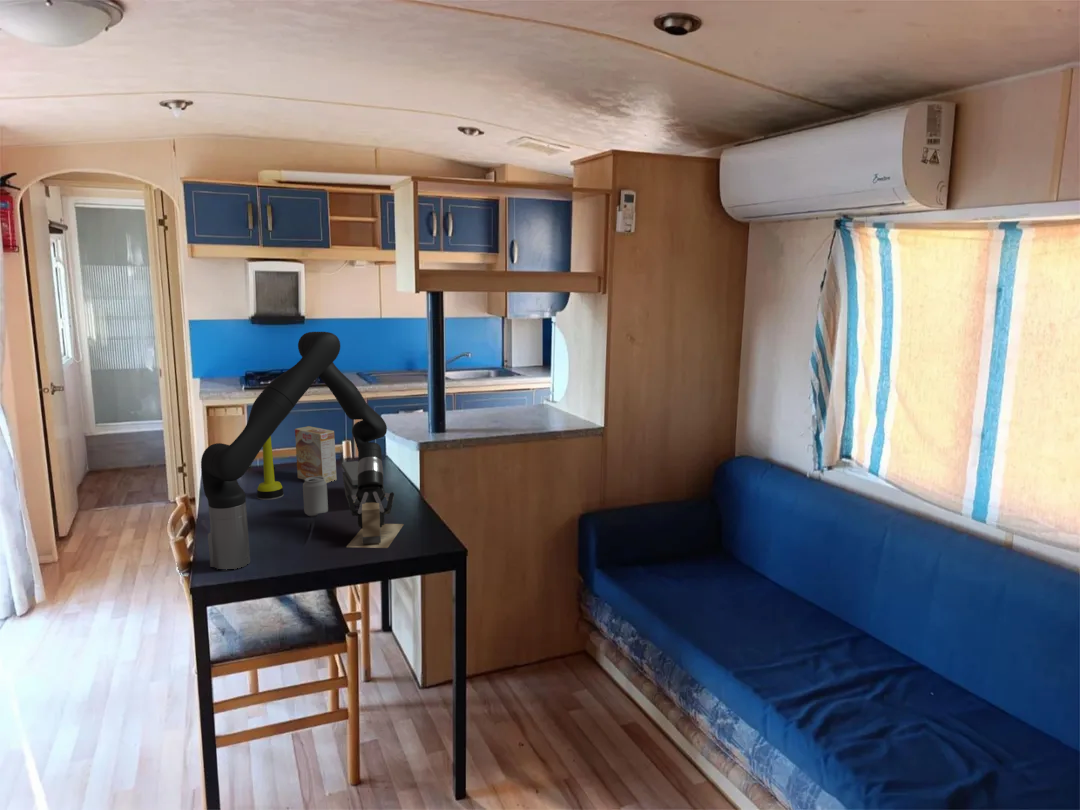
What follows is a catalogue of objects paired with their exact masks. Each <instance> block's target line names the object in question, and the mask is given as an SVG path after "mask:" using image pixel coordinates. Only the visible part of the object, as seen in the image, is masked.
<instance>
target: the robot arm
mask: <svg viewBox="0 0 1080 810" xmlns="http://www.w3.org/2000/svg"><path fill="white" fill-rule="evenodd" d="M340 341H341V340H340V338H339V337H338V335H336V334H335V333H332V332H329V331H309V332H306V333H304V334H302V335H301V336H300V337H299V340H298V343H297V349H298V353H299V355H300V356H301V358H300V360H299V361H297V362H296V364H294V365H293V366H292V367H290V368H289V369H288V370H286V371H284V372H283V373H281V374H279V375H278V376H277V377H276V378H274V379H273V380H272V381H271V382H269V383H268V385H266V387H265V388H264V389H263V390H262V391H261V393H259V394H258V396H257V397H256V399H255V400H254V401H253V404H252V405H251V406H252V407H251V410H250V412H249V416H248V420H247V422H246V425H245V426H244V428H243V430H242V431H241V433H240V434H239V435H238V436H237V437H236V438H235V439H234V440H233V442H232V443H230V444H225V443H222V442H217V443H213V444H211V445H209V446H207V447H206V448H205V450H204V451H203V453H202V455H201V460H200V468H201V469H200V471H201V477H202V478H201V479H202V487H203V491H204V492H203V493H204V496H205V497H206V499H207V503H208V513H209V514H208V516H209V526H210V531H209V533H207V543H208V555H209V556H208V557H209V568H210V567H215V568H217V569H216V570H218V569H226V570H225V571H228V570H227V569H234V570H238V569H241V567H242V568H243V567H246V566H248V565H249V564H250V563H251V553H250V552H251V551H250V542H249V540H250V539H249V529H248V528H249V527H248V525H249V524H248V513H247V512H248V511H247V501H246V498H247V497H246V493H245V491H244V489H243V488H242V487H241V486H240V484H239V483H238V480H239V479H241V478H242V477H243V476H244V475H245V474H246V472H247V471H248V470H249V468H250V467H251V466H252V464H253V462H254V460H255V459H256V458H257V456H258V454H259V453H260V451H261V450H262V449H263V445H264V444H265V442H266V441H267V440H268V439H269V437H270V436H271V437H272V435H273V434H274V432H275V431H276V430H277V428H278V427H279V426H280V425H281V423H283V422H284V420H285V419H286V418H287V416H288V415H289V414H290V413H291V412H292V410H293V409H294V408H295V406H296V405H297V403H298V402H299V401H300V400H301V398H302V397H303V396H304V395H305V394H306V392H307V391H308V390H309V389H310V387H311V386H312V385H313V384H314V382H315V381H316V380H317V379H318V378H320V379H321V381H322V382H323V383H324V384H325V385H326V387H327V388H328V389H329V391H330V392H331V394H332V395H333V396H334V398H335V399H336V400H337V402H338V404H339V405H340V407H341V409H342V410H343V412H344V413H345V416H346V417H348V419H350V420H353V421H355V420H360V421H357V422H355V423H354V424H353V426H352V429H351V434H352V436H353V439H354V441H355V445H356V448H357V454H358V455H357V461H358V474H357V476H358V491H357V493H356V495H352V496H351V495H348V496H347V498H346V501H347V504H348V507H349V510H350V513H351V515H352V517H357V526H358V528H360V530H361V529H363V527H362V504H365V503H371V502H376V503H379V512H380V513H379V515H380V527H382V525H384V524H385V515H389V514H391V511H392V507H393V504H394V499H395V493H394V492H386V491H385V489H384V468H383V459H382V458H383V457H382V448H381V445H380V444H379V443H377V442H374V441H375V440H378V439H381V438H383V437H385V436H386V434H387V431H388V427H387V424H386V423H387V422H386V421H385V420H384V418H383V417H382V416H381V415H380V414H379V413H377V412H376V411H375V410H374V409H373V408H372V407H371V406H370V405H369V404H368V403H367V401H366V400H365V398H364V397H363V395H362V393H361V391H360V390H359V389H358V388H357V386H356V385H355V384H354V383H353V382H352V381H351V380H350V379H349V378H348V377H347V376H346V375H345V374H343V373H342V371H341V370H340V369H339V368H338V367H337V366H336V364H335V363H334V361H335V360H336V359H338V357H339V354H340V353H341V351H340V350H341V342H340ZM372 441H373V442H372ZM384 498H386V501H387V503H386V504H387V505H386V507H385V508H384V507H383V503H382V501H383V500H384ZM355 499H358V500H359V501H360V503H361V504H360V505H359V508H358V509H356V506H354V503H355ZM247 564H248V565H247ZM215 568H214V569H215ZM237 568H238V569H237Z"/></svg>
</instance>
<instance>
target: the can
mask: <svg viewBox="0 0 1080 810" xmlns="http://www.w3.org/2000/svg"><path fill="white" fill-rule="evenodd" d="M327 484H328V483H327V482H326V481H325V480H324V477H319V476H315V477H309V478H306V479H305V480H304V482H303V483H302V493H303V495H302V496H303V509H304V510H303V511H304V514H305V515H307V516H309V517H318V514H322V513H328V512H329V504H328V503H329V501H328V499H329V498H328V485H327Z"/></svg>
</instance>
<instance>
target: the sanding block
mask: <svg viewBox="0 0 1080 810" xmlns="http://www.w3.org/2000/svg"><path fill="white" fill-rule="evenodd" d="M379 513H380V512H379V503H376V502H371V503H365V504H362V527H363V544H371V543H381V528H380V515H379Z"/></svg>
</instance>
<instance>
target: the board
mask: <svg viewBox="0 0 1080 810" xmlns="http://www.w3.org/2000/svg"><path fill="white" fill-rule="evenodd" d="M404 525H405V524H404V523H384V525H382V527H380V528H381V543H371V544H363V529H361V528H360V530H359V531H358V532H357V533H356V535H354V537H353V538H352V539H351V541H349V543H348V544H347V545H346V546H345V547H346V548H358V549H359V548H365V549H367V548H368V549H370V548H371V549H372V548H375V549H388V548H389V547H390V546H391V544H392V542H393V541H394V540H395V538H396V537H397V535H398V534H399V532H400V531H401V529H402V528H403V526H404Z"/></svg>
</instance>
